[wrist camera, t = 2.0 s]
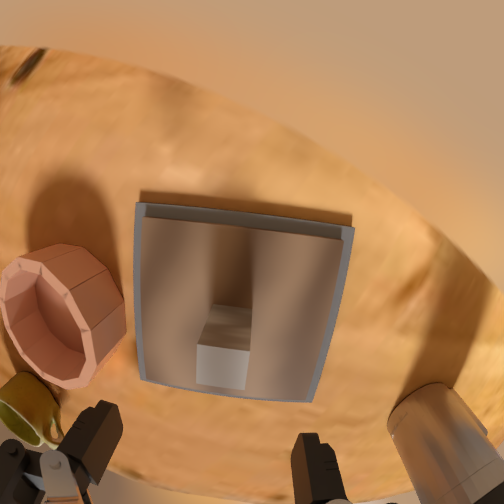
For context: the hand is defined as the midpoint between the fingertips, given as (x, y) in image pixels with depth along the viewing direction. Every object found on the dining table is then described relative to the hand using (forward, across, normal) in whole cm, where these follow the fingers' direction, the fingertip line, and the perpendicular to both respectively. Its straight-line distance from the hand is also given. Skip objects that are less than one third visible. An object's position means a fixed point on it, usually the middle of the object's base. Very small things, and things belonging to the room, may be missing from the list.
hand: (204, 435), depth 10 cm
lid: (+12, 0, 0) cm, 12 cm away
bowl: (+13, +16, +2) cm, 21 cm away
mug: (+14, +26, +20) cm, 35 cm away
